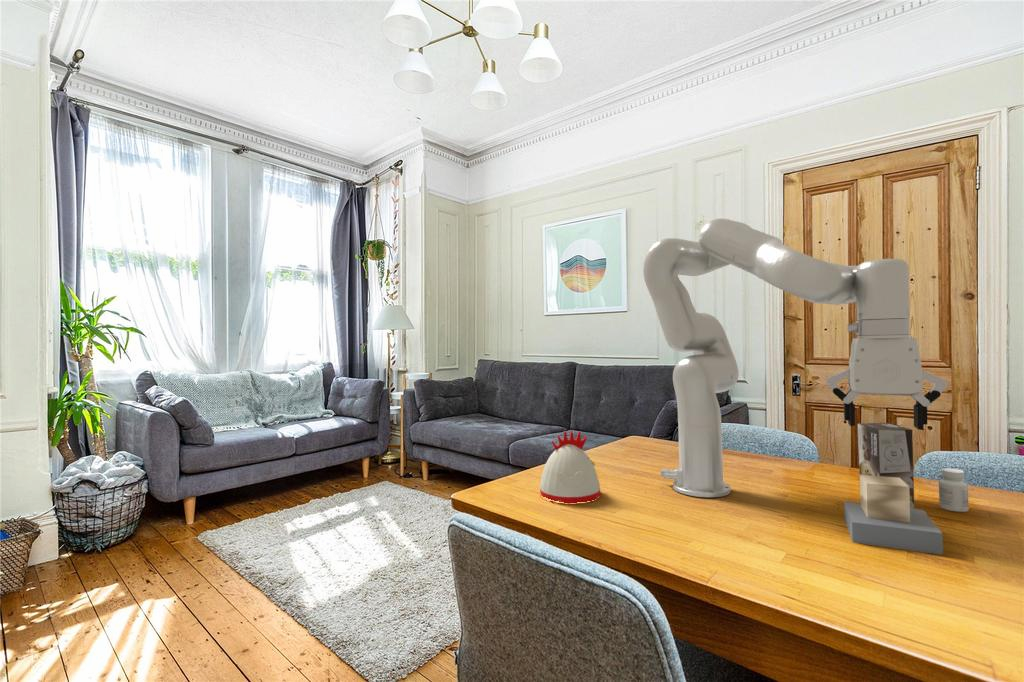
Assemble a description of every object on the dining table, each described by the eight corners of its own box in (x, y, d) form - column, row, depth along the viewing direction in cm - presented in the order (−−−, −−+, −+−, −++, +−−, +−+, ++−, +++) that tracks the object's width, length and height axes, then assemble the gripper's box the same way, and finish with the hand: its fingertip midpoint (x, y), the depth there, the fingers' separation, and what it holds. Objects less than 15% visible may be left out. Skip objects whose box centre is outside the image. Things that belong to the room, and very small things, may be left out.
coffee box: (916, 509, 100) (914, 429, 100) (880, 508, 101) (878, 429, 101) (891, 495, 109) (889, 422, 109) (858, 494, 110) (856, 421, 110)
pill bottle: (963, 506, 101) (962, 468, 101) (972, 513, 97) (971, 474, 97) (936, 504, 103) (934, 466, 103) (943, 511, 99) (942, 472, 99)
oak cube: (867, 517, 87) (866, 483, 87) (860, 506, 93) (859, 474, 93) (910, 522, 85) (909, 486, 85) (900, 510, 90) (899, 477, 90)
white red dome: (604, 504, 109) (602, 435, 109) (541, 505, 109) (539, 436, 109) (595, 485, 123) (593, 424, 123) (539, 486, 123) (537, 426, 123)
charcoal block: (852, 545, 85) (852, 522, 85) (844, 522, 96) (844, 501, 96) (943, 558, 80) (942, 533, 80) (923, 531, 90) (923, 509, 90)
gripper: (827, 331, 89) (828, 427, 89) (953, 328, 80) (954, 434, 81) (823, 331, 95) (824, 420, 95) (939, 328, 87) (940, 426, 87)
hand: (884, 426), depth 88 cm, fingers open, 9 cm apart
